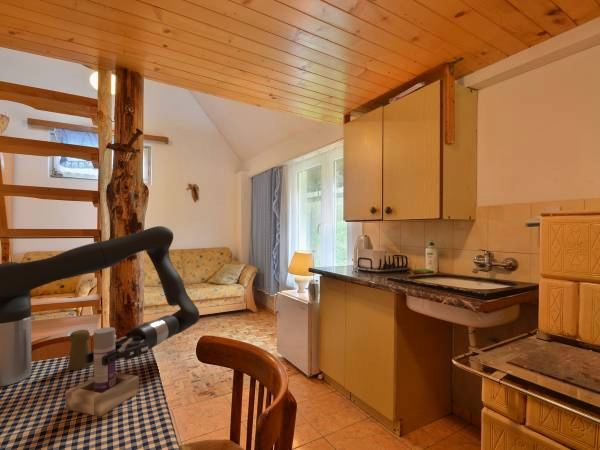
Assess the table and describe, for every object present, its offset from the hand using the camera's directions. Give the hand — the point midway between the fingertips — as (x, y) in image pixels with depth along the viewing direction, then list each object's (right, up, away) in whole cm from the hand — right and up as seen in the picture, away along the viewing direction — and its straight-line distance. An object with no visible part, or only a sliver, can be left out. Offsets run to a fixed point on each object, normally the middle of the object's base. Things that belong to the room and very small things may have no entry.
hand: (95, 360), depth 74 cm
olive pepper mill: (-19, -11, +21) cm, 30 cm away
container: (+1, -9, +3) cm, 9 cm away
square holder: (+1, -11, +2) cm, 11 cm away
